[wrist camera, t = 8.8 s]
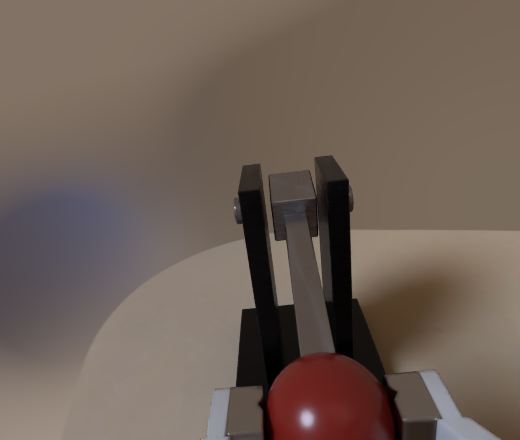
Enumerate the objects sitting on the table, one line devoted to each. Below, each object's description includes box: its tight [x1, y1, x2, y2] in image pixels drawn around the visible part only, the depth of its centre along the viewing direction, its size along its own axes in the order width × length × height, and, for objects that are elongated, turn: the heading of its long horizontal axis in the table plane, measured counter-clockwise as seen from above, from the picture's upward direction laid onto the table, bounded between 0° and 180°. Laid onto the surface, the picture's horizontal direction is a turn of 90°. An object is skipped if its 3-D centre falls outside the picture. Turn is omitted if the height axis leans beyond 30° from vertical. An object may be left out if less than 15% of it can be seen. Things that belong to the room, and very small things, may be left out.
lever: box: [264, 170, 395, 440], centre depth 15 cm, size 14×4×4 cm, turn 0°
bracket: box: [234, 156, 386, 399], centre depth 22 cm, size 12×9×14 cm
